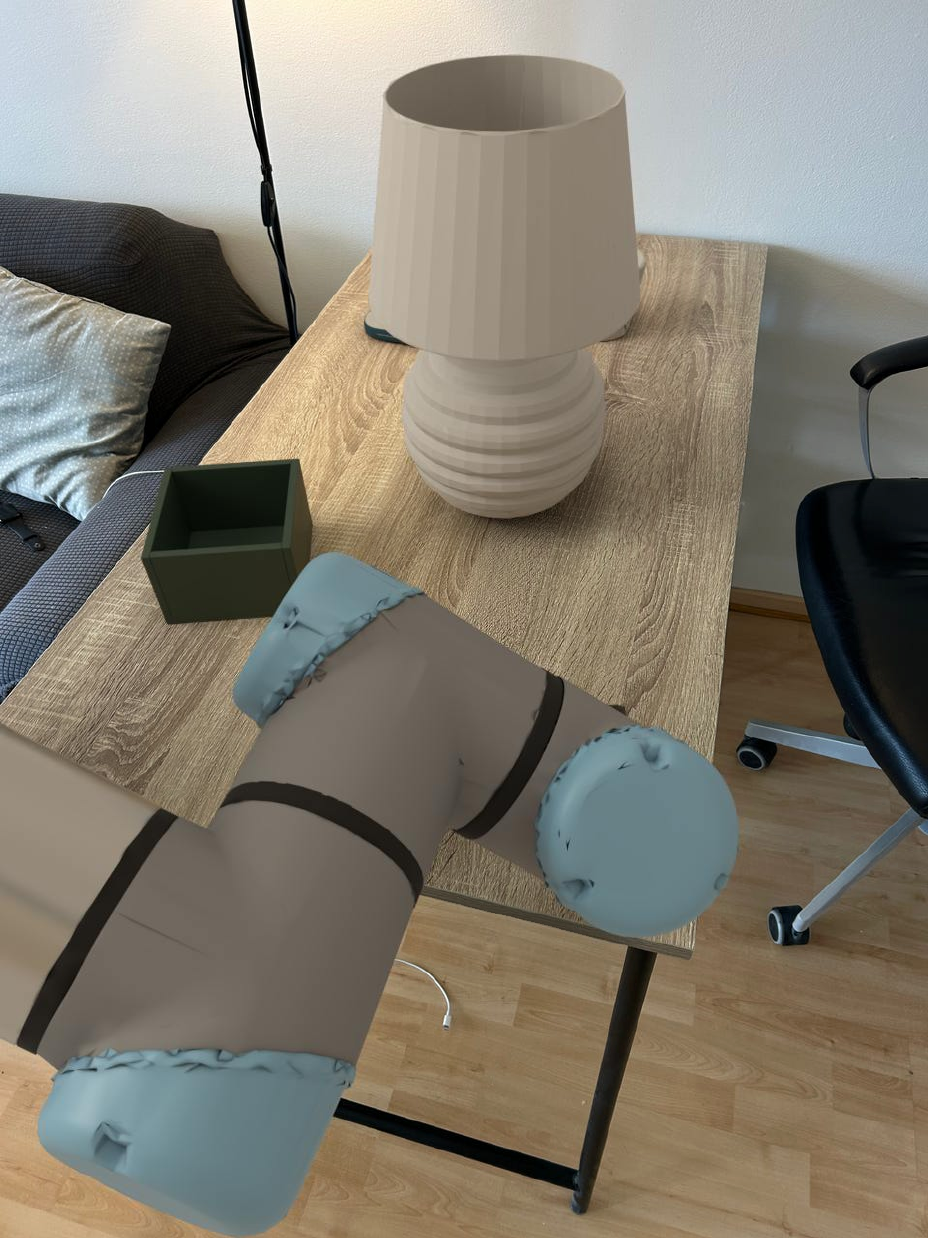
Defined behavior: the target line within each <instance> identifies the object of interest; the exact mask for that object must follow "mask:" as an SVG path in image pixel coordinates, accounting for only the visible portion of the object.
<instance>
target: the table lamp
mask: <svg viewBox="0 0 928 1238" xmlns="http://www.w3.org/2000/svg"><path fill="white" fill-rule="evenodd" d="M626 94H627V90H626V88H625V86H624V85H623V83H622V81H621V80H620V79H619V78H618V77H617V76H616V74H614V73H613V72H612V71H611V70H607V69H605V68H603V67H599V66H597V65H593V64H590V63H587V62H583V61H579V60H576V59H573V58H567V57H566V58H564V57H555V56H546V55H533V54H532V55H531V54H521V53H520V54H519V53H517V54H516V53H513V54H493V55H481V56H470V57H469V56H468V57H458V58H454V59H449V60H444V61H439V62H436V63H431V64H426V65H424V66H421V67H419V68H417V69H413V70H412V71H409V72H406V73H404V74H403V75H401V76H399V77H397V78H395V79H394V80H391V81H390V83H389V84H388V85H387V88H386V89H385V90H384V92H383V93H382V115H381V129H380V140H379V141H380V142H379V144H380V145H379V155H378V166H377V167H378V168H377V181H376V194H375V207H374V220H373V221H374V222H373V223H374V224H373V234H372V246H371V260H370V270H369V271H370V274H369V285H368V296H367V297H368V299H367V302H368V305H369V309H370V310H371V312H372V315H373V316H374V318H375V319H376V320H377V322H378V323H379V325H380V326H381V327H383V328H384V329H385V330H386V331H387V332H389V333H390V334H391V335H392V336H394V337H396V338H398V339H399V340H401V341H403V342H405V343H404V344H407V345H409V346H411V347H414V348H417V349H420V350H419V352H418V354H417V355H416V357H415V360H414V363H412V365H411V366H410V368H409V370H408V371H407V373H406V375H405V378H404V381H403V388H402V404H401V405H402V406H401V413H400V414H401V417H400V420H401V421H400V422H401V424H402V427H403V439H404V443H405V447H406V450H407V454H408V455H409V457H410V458H411V460H412V461H413V463H414V465H415V467H416V470H417V472H418V474H419V476H420V478H421V479H422V480H423V482H424V483H425V484H426V485H427V486H428V487H429V488H430V489H431V490H432V491H433V492H435V493H437V495H438V496H440V498H441V499H443V500H444V502H446V503H447V504H449V505H451V506H452V507H453V508H456V509H458V510H460V511H462V512H465V513H468V514H472V515H474V516H479V517H484V518H491V519H505V520H507V519H513V518H522V517H529V516H532V515H535V514H537V513H540V512H543V511H546V510H547V509H550V508H552V507H554V506H556V505H557V504H558V503H560V502H561V501H562V500H564V498H566V497H567V496H568V495H569V494H570V493H571V492H572V491H574V490H575V489H576V488H577V487H579V485H580V484H581V483H582V482H583V481H584V479H585V478H586V477H587V475H588V474H589V471H590V469H591V467H592V466H591V465H592V464H593V462H594V461H595V459H596V458H597V457H598V455H599V453H600V450H601V447H602V444H603V440H604V428H605V427H604V426H605V424H606V421H607V406H606V400H605V391H606V390H605V389H606V388H605V381H604V378H603V374H602V372H601V371H600V369H599V367H598V365H597V364H596V362H595V361H594V359H593V356H592V355H591V353H590V350H589V349H588V347H590V346H593V345H597V344H598V343H600V342H603V341H602V340H604V339H605V338H607V337H609V336H611V335H613V334H614V333H616V332H617V331H618V330H619V329H620V328H622V327H623V326H624V325H625V324H627V322H628V321H629V320H630V319H631V320H632V318H633V316H635V313H636V312H637V309H638V306H639V304H640V300H641V284H640V280H639V267H638V255H637V249H638V244H637V243H638V242H637V233H636V232H637V231H636V230H637V229H636V218H635V205H634V194H633V193H634V192H633V180H632V179H633V177H632V165H631V155H630V154H631V153H630V141H629V128H628V116H627V103H626Z"/></svg>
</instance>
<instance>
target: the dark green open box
mask: <svg viewBox="0 0 928 1238" xmlns="http://www.w3.org/2000/svg"><path fill="white" fill-rule="evenodd" d="M149 522H150V523H149V526H148V530H147V533H146V537H145V541H144V544H143V549H142V552H141V554H140V560H141V562H142V565H143V567H144V571H145V572H146V575H147V577H148V580H149V582H150V585H151V587H152V590H153V592H154V595H155V597H156V600H157V602H158V605H159V607H160V610H161V612H162V615H163V618H164V620H165V623H166V625H173V624H174V625H175V624H185V623H186V624H187V623H188V624H189V623H203V622H214V621H216V622H217V621H229V620H230V621H231V620H242V619H255V618H257V619H258V618H273V616H274V614H275V613H276V611H277V609H278V607H279V606H280V604H281V602H282V601H283V599H284V597H285V596H286V594H287V593H288V591H289V590H290V588H291V587H292V585H293V584H294V582H295V581H296V579H297V578H298V576H299V575H300V573H301V572H302V570H303V569H304V568H305V567H306V565H307V564H308V563H309V562H310V561H311V550H312V538H313V525H314V524H313V520H312V514H311V510H310V504H309V500H308V494H307V491H306V486H305V480H304V475H303V470H302V465H301V460H300V458H284V459H271V460H254V461H242V462H241V461H240V462H227V463H225V462H224V463H211V464H197V465H182V466H170V467H164V471H163V473H162V478H161V481H160V485H159V488H158V493H157V495H156V499H155V503H154V507H153V511H152V515H151V519H150V521H149Z"/></svg>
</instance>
